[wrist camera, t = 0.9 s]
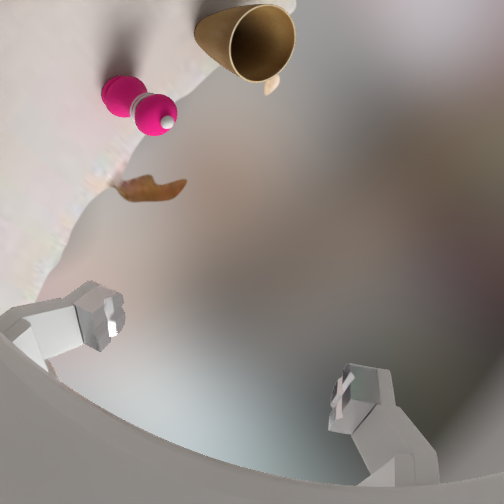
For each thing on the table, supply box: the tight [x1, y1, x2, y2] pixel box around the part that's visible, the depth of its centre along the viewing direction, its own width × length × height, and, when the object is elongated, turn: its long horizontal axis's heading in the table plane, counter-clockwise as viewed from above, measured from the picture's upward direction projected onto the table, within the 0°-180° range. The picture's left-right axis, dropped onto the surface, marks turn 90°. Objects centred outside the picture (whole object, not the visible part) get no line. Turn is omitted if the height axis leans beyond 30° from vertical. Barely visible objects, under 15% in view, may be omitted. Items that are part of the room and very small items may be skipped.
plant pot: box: [194, 4, 296, 83], centre depth 40 cm, size 15×15×16 cm
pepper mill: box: [102, 76, 177, 136], centre depth 36 cm, size 7×7×20 cm
